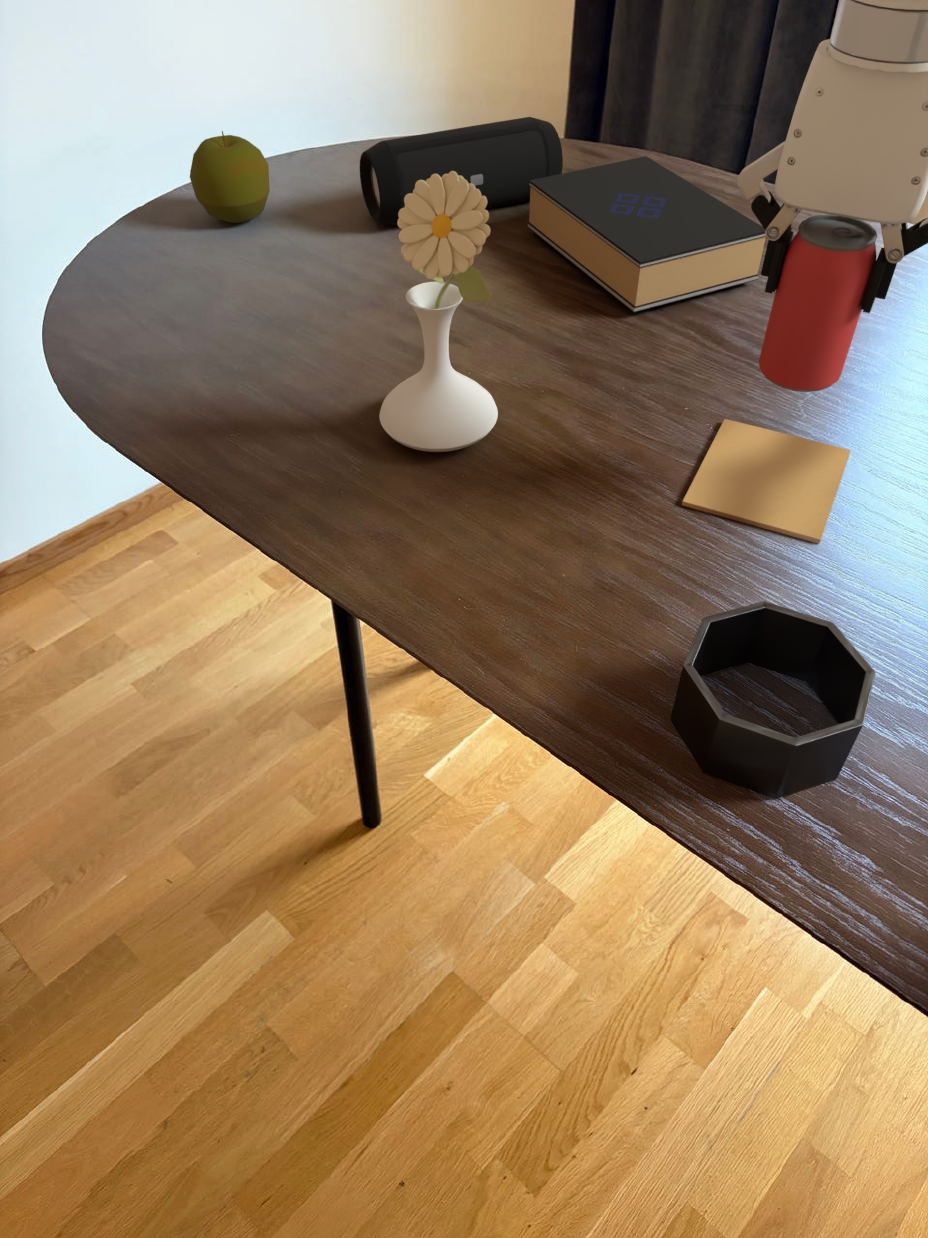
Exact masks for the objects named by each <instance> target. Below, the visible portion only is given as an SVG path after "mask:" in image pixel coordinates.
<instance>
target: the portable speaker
mask: <svg viewBox="0 0 928 1238" xmlns="http://www.w3.org/2000/svg"><path fill="white" fill-rule="evenodd" d="M563 158H564V157H563V148H562V142H561V138H560V136H559V133H558V131H557V129H556V128H555V126H554V125H553V124H552V123H551V122H549V121H547V120H543V119H540V118H537V117H532V116H525V117H520V118H519V117H518V118H513V119H507V120H500V121H494V122H489V123H482V124H476V125H475V124H474V125H470V126H465V127H464V126H463V127H456V128H452V129H446V130H439V131H433V132H427V133H421V134H416V135H408V136H402V137H398V138H392V139H386V140H381V141H379V142H376V143H375V144H374V145H372V146H370V147H369V148H367V149H365V150H364V151H362V153H361V154H360V158H359V181H360V187H361V192H362V197H363V201H364V203H365V207H366V209H367V211H368V214H369V215H370V217H371V218H372V220H374V221H375V222H378V223H383V224H389V225H393V226H398V224H397V221H398V219H399V216H398V213H399V211H400V209H402V208H404V207H405V203H404V198H405V196H406V195H407V194H409V193H412V194H413V190H414V189H415V184H416V182H417V181H418V180H423V181H426V180H427V179H429V178H430V177H431V176H432V175H433V174H438V175H439V176H440V177H442V176H443V175H444V174H449V172H451V171H455V172H456V173H457V174H458V176H459V175H460V176H463V177H464V179H465V180H467V182H468V184H469V183H472V184H474V185H475V187H476V189H479V190H480V192H481V196H485V197H486V198H487V206H486V208H485V210H488V209H493V208H498V207H499V208H500V207H503V206H508V205H514V204H520V203H525V202H528V201H529V202H530V190H531V187H530V186H529V182H530V181H529V180H534V179H539V178H543V177H548V176H553V175H558V174H563V167H564V166H563V165H564V159H563Z"/></svg>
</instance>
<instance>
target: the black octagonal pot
mask: <svg viewBox="0 0 928 1238" xmlns="http://www.w3.org/2000/svg"><path fill="white" fill-rule="evenodd" d="M700 621H701V622H700V624H699V626H698V629H697V630H696V633H695V636H694V638H693V640H692V642H691V645H690V647H689V649H688V652H687V653H686V657H685V659H684V662H683V663H682V668H681V671H680V675H679V679H678V683H677V688H676V691H675V694H674V695H675V696H674V700H673V704H672V708H671V712H670V715H669V716H670V717H669V721H670V723H671V725H672V726H673V728H674V729H675V731H676V733H677V734H678V736H679V737H680V739H681V741H682V742H683V744H684V745H685V747H686V749H687V750H688V752H689V753H690V755H691V757H692V758H693V759H694V761H695V763H696V764H697V766H698V768H699V769H700V771H701V772H702V774H703V775H706V776H709V777H712V778H715V779H717V780H720V781H723V782H726V783H728V784H731V785H734V786H735V787H739V788H742V789H744V790H747V791H749V792H752V793H756V794H758V795H761V796H763V797H767V798H768V799H771V800H777V799H780V798H783V797H785V796H786V797H787V796H789V795H792V794H795V793H798V792H801V791H805V790H807V789H811V788H813V787H816V786H820V785H822V784H825V783H828V782H833V781H835V780H837V779H838V777H839V775H840V773H841V771H842V769H843V768H844V765H845V763H846V761H847V759H848V757H849V756H850V753H851V751H852V749H853V747H854V745H855V742H856V740H857V739H858V738H859V737H858V736H859V735H860V733H861V731H862V729H863V727H864V724H865V719H866V714H867V711H868V706H869V703H870V699H871V694H872V690H873V686H874V682H875V678H876V671H875V669H874V668H873V667H872V666H871V665H870V663H869V662H868V661H867V660H866V659H865V658H864V656H862V654H861V653H860V652H859V651H858V649H857V648H856V647H855V646H854V645H853V644H852V643H851V642H850V641H849V639H848V638H847V636H845V634H843V632H842V631H841V630H840V629H839V628H838V626H837V625H836V624H835V623H834V622H833V621H829V620H827V619H823V618H822V617H821V618H820V617H817V616H814V615H811V614H807V613H804V612H801V611H797V610H794V609H791V608H788V607H784V606H782V605H778V604H774V603H771V602H768V601H766V600H765V601H759V602H755V603H752V604H748V605H745V606H740V607H737V608H732V609H730V610H726V611H722V612H719V613H715V614H711V615H708V616H704V617H703V618H702V619H701V620H700ZM743 665H752V666H754V667H758V668H761V669H763V670H767V671H769V672H773V673H777V674H779V675H782V676H785V677H787V678H791V679H794V680H796V681H797V680H798V681H800V682H803V683H805V684H807V686H808V687H809V688H810V689H811V691H812V692H813V693H814V695H815V697H817V699H818V700H819V701H820V702H821V704H822V705H823V706H824V708H825V709H826V710H827V712H828V713H829V714H830V715H831V716H832V718H833V720H835V722H836V723H837V724H835V725H831V726H828V727H825V728H821V729H819V730H815V731H812V732H809V733H806V734H803V735H799V736H796V737H794V736H791V735H788V734H786V733H785V734H784V733H782V732H779V731H776V730H774V729H771V728H768V727H766V726H762V725H759V724H757V723H753V722H751V721H748V720H744V719H742V718H739V717H736V716H734V715H730V714H727V713H726V712H725V710H724V709H723V708H722V706H721V704H720V703H719V702H718V700H717V699H716V697H715V695H714V694H713V693H712V692H711V690H710V688H709V687H708V686H707V684H706V683H705V681H704V679H703V678H702V677H705V676H708V675H712V674H715V673H719V672H722V671H725V670H729V669H732V668H736V667H740V666H743Z"/></svg>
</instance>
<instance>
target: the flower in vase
mask: <svg viewBox="0 0 928 1238" xmlns="http://www.w3.org/2000/svg"><path fill="white" fill-rule="evenodd" d="M404 203H405V207H404V208H402V209H400V211H399V213H398V216H399V219H398V221H397V224H398V225H397V227H398V228H399V229H401V230H400V232H399V233H398V240H399V242H401V243H402V244H403V245H402V246H401V248H400V254H401V255H402V256H403V260H404V261H405V262H406V263H411V265H412V269H413V270H414V271H418V272H419V273H420V274H422V275H424V276H425V278H427V279H428V280H433V281H427V282H423V283H419V284H416V285H414V286H412V287H411V288H410V289H408V290H407V292H406V294H405V300H406V302H407V303H408V304H409V306H410V307H411V308H412V309H413V310H414V312H415V313H416V316H417V318H418V320H419V325H420V328H421V333H422V339H423V349H424V350H423V351H424V353H423V354H424V357H423V365H422V367H421V369H420V370H419V371H418V372H416V373H415V374H413V375H411V376H409V377H408V378H406V379H405V380H403V381H401V382H400V383H399V384H398V385H396V386H395V387H394V388H393V389H392V390H391V391H390V392H389V393H388V394H387V395H386V396H385V398H384V399H383V402H382V404H381V407H380V410H379V418H378V419H379V422H380V425H381V427H382V428H383V430H384V431H385V432H386V434H388V436H389V437H390V438H391V439H392V440H394V441H395V442H397V443H398V444H401V445H402V446H404V447H407V448H410V449H413V450H416V451H422V452H430V453H431V452H432V453H442V452H443V453H445V452H452V451H458V450H461V449H465V448H468V447H470V446H473V445H475V444H476V443H478V442H480V441H481V440H483V439H484V438H485V437H486V436H487V435H488V434H489V433H490V431H492V429H493V428H494V427H495V425H496V423H497V421H498V418H499V417H498V416H499V411H498V407H497V405H496V402H495V399H494V398H493V396H492V394H491V393H490V392H489V391H488V390H487V389H486V388H484V387H483V385H481V384H479V382H477V381H475V380H474V379H472V378H470V377H468V376H466V375H465V374H462V373H460V372H458V371H456V370H455V369H454V368H453V366H452V364H451V360H450V350H449V349H450V348H449V347H450V346H449V343H450V341H449V340H450V329H451V324H452V320H453V316H454V314H455V312H456V309H457V308H458V307H459V305H460V304H461V303H462V302H463V299H464V300H466V301H470V302H489V301H493V296H492V294H491V291H490V290H489V288H488V287H487V284H486V282H485V280H484V277H483V276H482V274H481V272H480V271H479V269H478V268H476V267H474V266H472V265H473V264H474V261H475V258H474V257H475V256H478V255H480V254H481V253H482V252H483V251H482V250H483V246H484V245H485V243H486V240H487V238H488V237H490V235H491V227H490V225H488V224H487V222H488V221H489V219H490V213H489V211H488V209H485V208H486V206H487V198H486V197H485V196H481V192H480V190H479V189H476V187H475V185H474V184H472V183H469V184H468V182H467V180H465V179H464V177H463V176H460V175H459V176H458V174H457V173H456V172H455V171H451V172H449V174H444V175H443V176H442V177H440V176H439V175H438V174H433V175H432V176H431V177H430V178H429V179H427V180H426V181H423V180H418V181H417V182H416V184H415V189H414V190H413V194H412V193H409V194H407V195H406V196H405V198H404ZM448 276H449V277H448ZM444 277H448V278H447V280H446V281H445V282H444V279H443V278H444ZM454 279H455V282H456V285H455V284H452V282H453V280H454Z"/></svg>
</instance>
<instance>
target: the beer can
mask: <svg viewBox="0 0 928 1238" xmlns="http://www.w3.org/2000/svg"><path fill="white" fill-rule="evenodd" d="M797 229H798V230H797V232H796V234H795V235H794V237H792V241H791V243H790V244H789V246H788V248H787V250H786V253H785V256H784V260H783V264H782V269H781V273H780V277H779V281H778V285H777V289H776V290H775V292H774V297H773V301H772V304H771V309H770V313H769V317H768V321H767V325H766V330H765V333H764V338H763V341H762V345H761V350H760V355H759V358H758V365H759V370H760V371H761V373H762V375H763V376H764V378H765V379H766V380H768V381H769V382H770V383H772V384H773V385H775V386H777V387H780V388H782V389H785V390H789V391H793V392H800V393H813V392H819V391H821V390H826V389H828V388H830V387H831V386H833V385H835V384H836V383H837V382H838V381H839V380H840V378H841V376H842V373H843V371H844V367H845V363H846V360H847V358H848V354H849V351H850V348H851V345H852V343H853V339H854V335H855V333H856V330H857V326H858V322H859V321H860V317H861V314H862V312H863V310H861V307H862V304H863V301H864V297H865V294H866V291H867V288H868V285H869V282H870V278H871V275H872V272H873V269H874V266H875V263H876V260H877V258H878V255H877V247H876V241H877V239H878V233H877V230H876V229H875V228H874V227H873V226H872V225H871V224H869V223H868V222H867V221H865V220H860V219H854V218H848V217H842V216H836V215H831V214H817V215H814V216H809V217H807V218H805V219H804V220H802V221H801V222H800V224H799V225H798V228H797Z"/></svg>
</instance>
